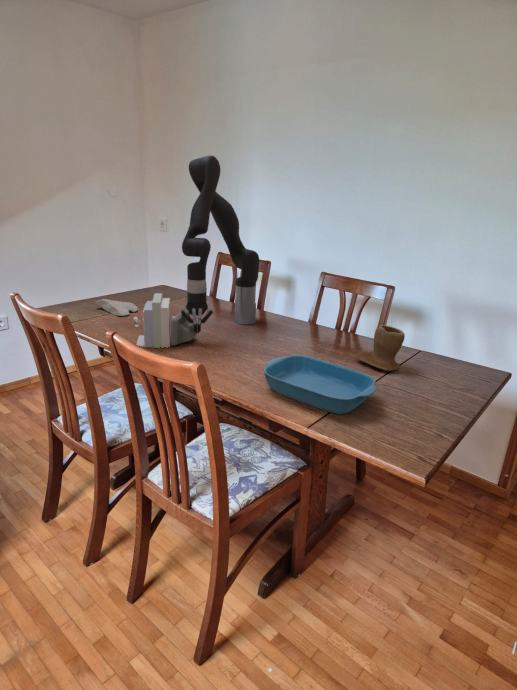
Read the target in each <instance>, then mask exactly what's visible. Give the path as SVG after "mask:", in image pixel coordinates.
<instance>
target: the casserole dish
mask: <svg viewBox="0 0 517 690" xmlns="http://www.w3.org/2000/svg"><path fill="white" fill-rule="evenodd" d="M265 365H266V366H265V367H264V368H263V374H264V376H265V379H266V382H267V384H268V386H269V387H270V389H271V390H272V391H274V392H276V393H277V394H279V395H282V396H284V397H287V398H290V399H292V400H295V401H297V402H300V403H302V404H303V403H304V404H306V405H308V406H311V407H314V408H317V409H319V410H322V411H325V412H328V413H333V414H337V415H343V414H344V415H345V414H347V413H350V412H352V411H353V410H355V409H357V408H358V407H359V406H360V405H362V404H363V403H364V402H365V401H366V400H367V399H368V398H369V397H371V396H372V395H373V394H375V392H377V386H376V385H375V384H376V379H375V378H374V377H372V376H371V375H369V374H367V373H365V372H361V371H359V370H355V369H353V368H352V369H351V368H349V367H345V366H342V365H338V364H336V363H332V362H328V361H326V360H323V359H319V358H316V357H313V356H308V355H303V354H291V355H288V356H281V357H276V358H273V359H271V360H269V361H267V362H266V363H265Z"/></svg>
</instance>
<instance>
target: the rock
mask: <svg viewBox="0 0 517 690" xmlns="http://www.w3.org/2000/svg"><path fill="white" fill-rule="evenodd" d="M94 302H95V304H96V305H97V306H100V307H101V308H102V309H103V310H104V311H106V312H108V313H110V314H111V315H113V316H115V317H116V316H117V317H118V316H119V317H120V316H121V317H124V316H130V315H131V313H130V312H132V313H135V312H138V309H139V308H138V306H137V305H135V304H134V303H133V302H128V301H127V302H126V301H120V300H112V299H111V300H110V299H108V298H102V299H98V300H95V301H94Z"/></svg>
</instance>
